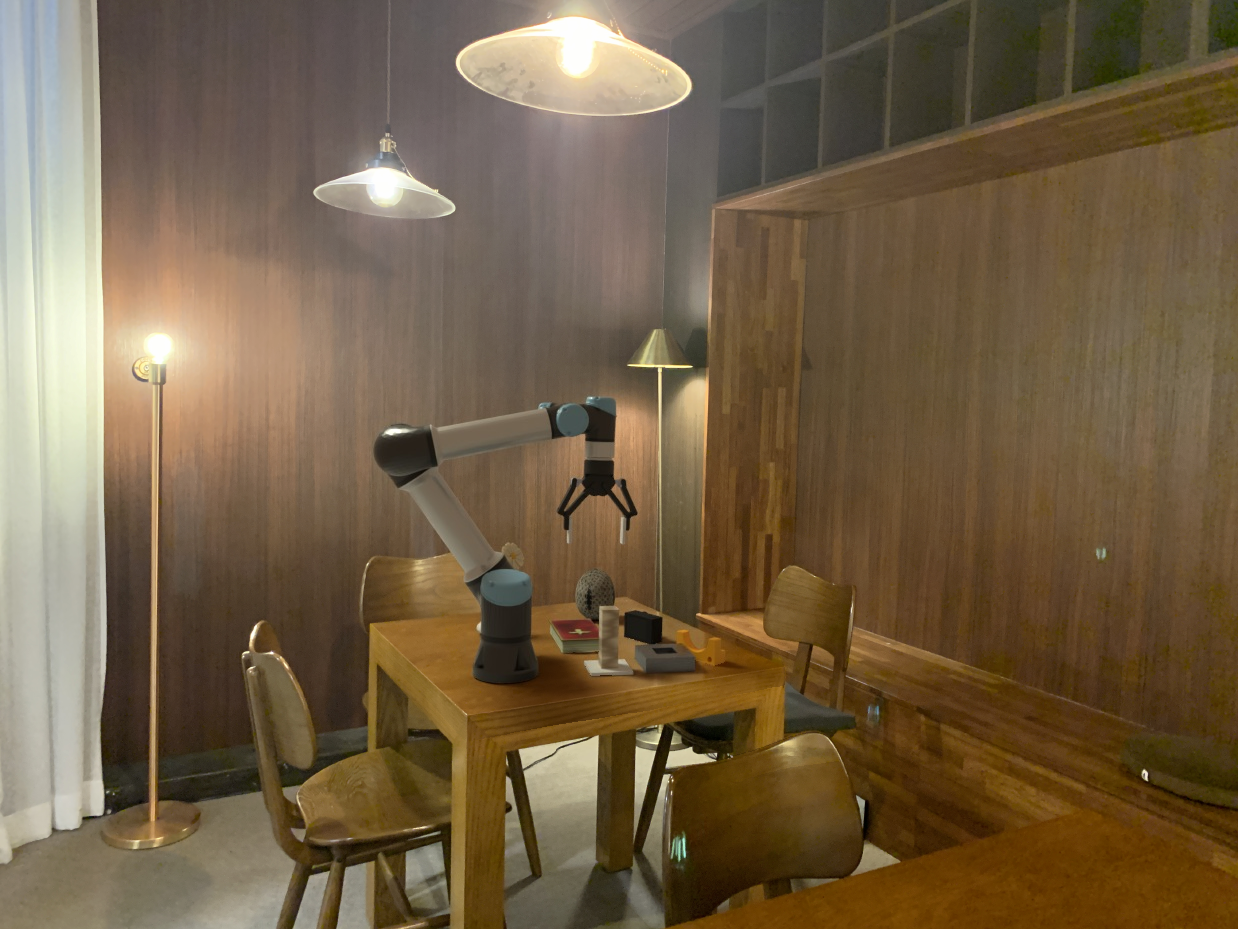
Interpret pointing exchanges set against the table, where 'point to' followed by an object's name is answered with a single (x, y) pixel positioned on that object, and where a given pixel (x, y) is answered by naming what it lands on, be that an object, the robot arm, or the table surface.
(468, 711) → the table surface
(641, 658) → the socket block
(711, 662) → the pipe clamp
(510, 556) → the flower in vase
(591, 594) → the decorative egg
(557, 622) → the hardcover book
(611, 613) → the birch peg
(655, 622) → the black rectangular block
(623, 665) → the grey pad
